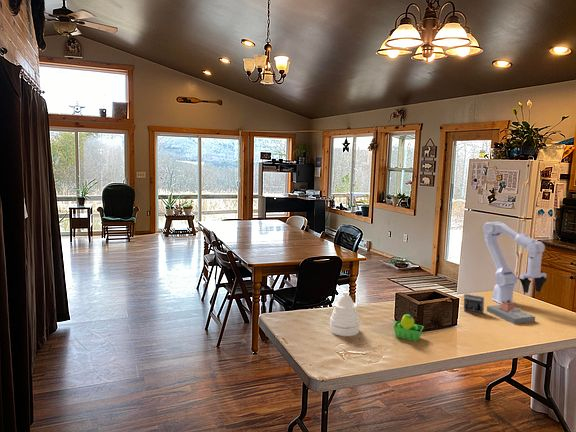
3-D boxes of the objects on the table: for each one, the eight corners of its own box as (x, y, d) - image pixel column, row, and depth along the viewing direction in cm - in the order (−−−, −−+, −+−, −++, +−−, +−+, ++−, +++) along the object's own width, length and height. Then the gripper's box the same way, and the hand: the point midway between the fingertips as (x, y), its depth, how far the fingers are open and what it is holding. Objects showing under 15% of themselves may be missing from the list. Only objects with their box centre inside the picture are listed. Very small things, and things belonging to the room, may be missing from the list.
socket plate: (486, 310, 221) (487, 306, 220) (506, 309, 224) (506, 304, 223) (513, 324, 203) (514, 318, 203) (534, 321, 207) (535, 316, 206)
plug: (500, 312, 217) (501, 299, 216) (507, 312, 218) (508, 298, 217) (507, 315, 213) (508, 301, 212) (513, 315, 214) (515, 301, 213)
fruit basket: (423, 337, 187) (425, 311, 186) (418, 344, 179) (419, 318, 178) (397, 331, 193) (398, 306, 191) (391, 338, 185) (392, 312, 184)
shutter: (508, 313, 210) (509, 309, 210) (519, 312, 212) (520, 307, 212) (519, 318, 204) (519, 313, 204) (530, 317, 206) (530, 312, 205)
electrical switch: (483, 312, 218) (484, 295, 216) (481, 316, 214) (483, 298, 212) (464, 308, 223) (464, 291, 221) (461, 312, 219) (462, 295, 217)
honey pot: (358, 337, 186) (360, 296, 183) (328, 334, 188) (329, 294, 186) (359, 326, 198) (361, 287, 196) (331, 323, 201) (332, 285, 198)
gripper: (528, 268, 213) (526, 295, 215) (552, 266, 217) (549, 293, 219) (517, 264, 220) (515, 291, 221) (540, 263, 223) (538, 289, 225)
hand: (531, 291), depth 220 cm, fingers open, 7 cm apart
